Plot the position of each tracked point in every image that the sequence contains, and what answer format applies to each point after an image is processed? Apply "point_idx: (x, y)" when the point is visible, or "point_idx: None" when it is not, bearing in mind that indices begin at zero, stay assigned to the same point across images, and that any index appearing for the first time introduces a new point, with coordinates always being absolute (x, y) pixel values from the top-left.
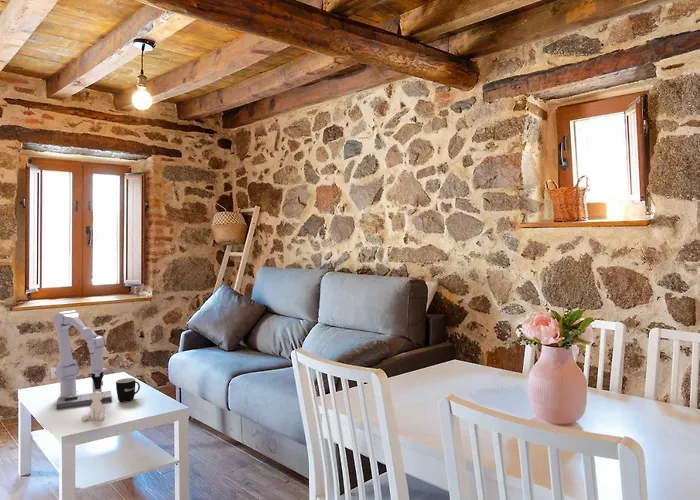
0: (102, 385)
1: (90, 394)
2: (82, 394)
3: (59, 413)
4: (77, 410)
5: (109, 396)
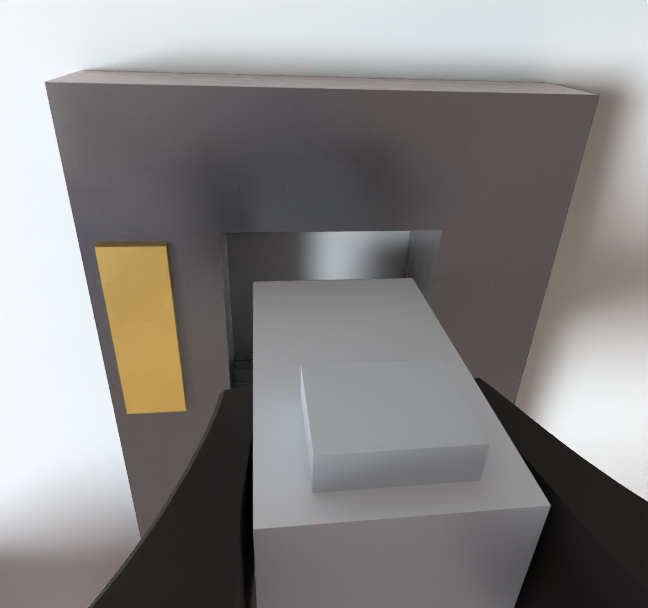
0: (441, 370)
1: (198, 431)
2: (138, 520)
3: None
4: (613, 463)
5: (559, 134)
